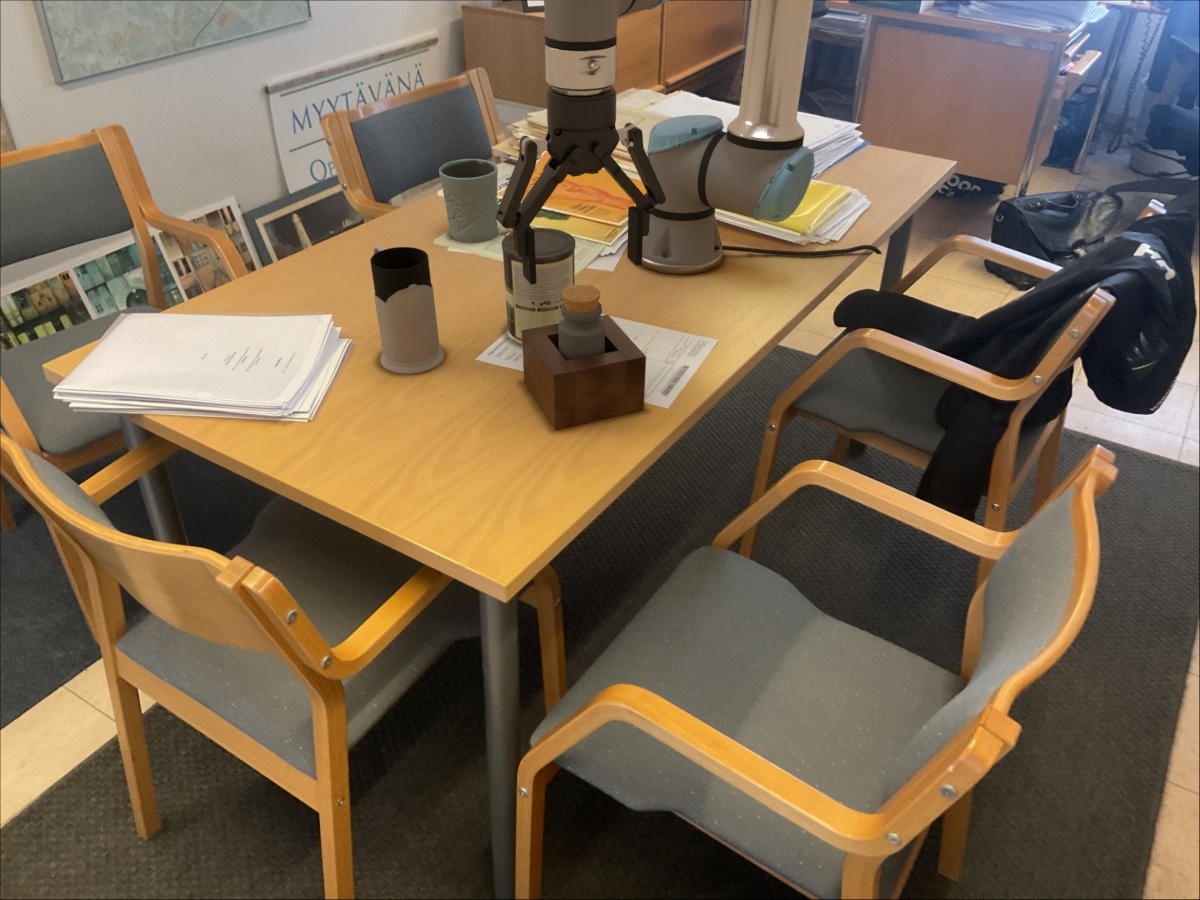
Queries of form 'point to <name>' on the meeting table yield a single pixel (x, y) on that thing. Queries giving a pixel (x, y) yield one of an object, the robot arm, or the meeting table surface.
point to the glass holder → (405, 310)
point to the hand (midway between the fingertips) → (583, 270)
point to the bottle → (581, 323)
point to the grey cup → (470, 198)
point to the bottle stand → (583, 377)
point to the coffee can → (538, 281)
